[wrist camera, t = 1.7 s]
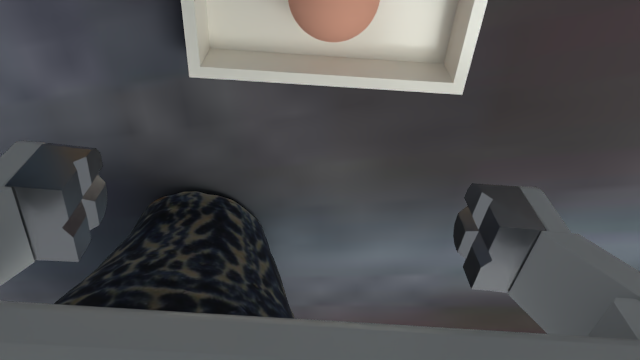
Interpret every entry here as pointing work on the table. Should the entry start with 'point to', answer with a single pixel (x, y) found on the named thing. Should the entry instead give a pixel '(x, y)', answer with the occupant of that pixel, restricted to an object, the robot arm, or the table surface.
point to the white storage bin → (335, 45)
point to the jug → (189, 263)
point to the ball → (333, 17)
